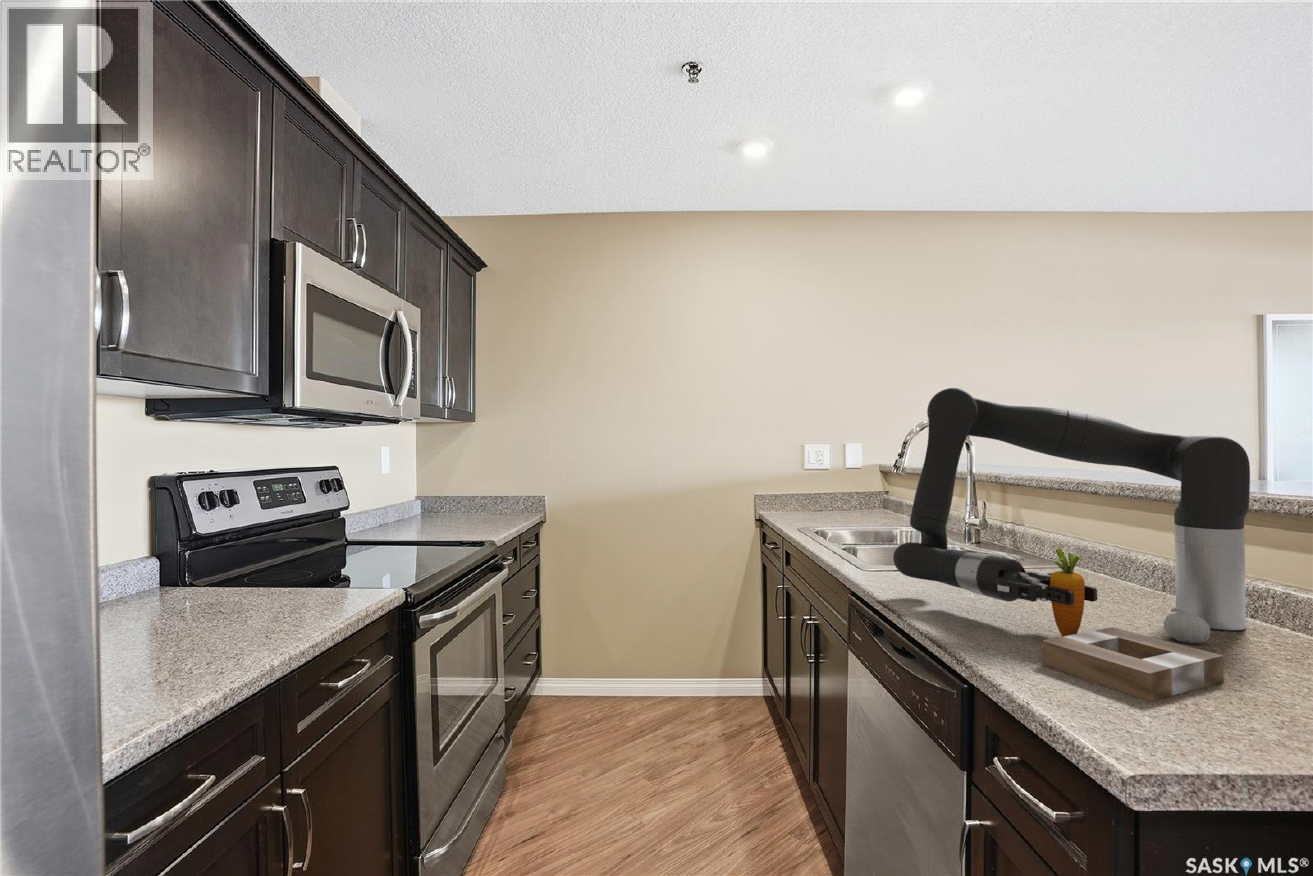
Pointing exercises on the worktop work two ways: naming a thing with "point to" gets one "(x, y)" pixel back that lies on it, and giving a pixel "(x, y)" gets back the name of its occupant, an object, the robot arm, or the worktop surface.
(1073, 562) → the carrot
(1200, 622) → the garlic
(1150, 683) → the brown and silver frame
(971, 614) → the worktop surface
